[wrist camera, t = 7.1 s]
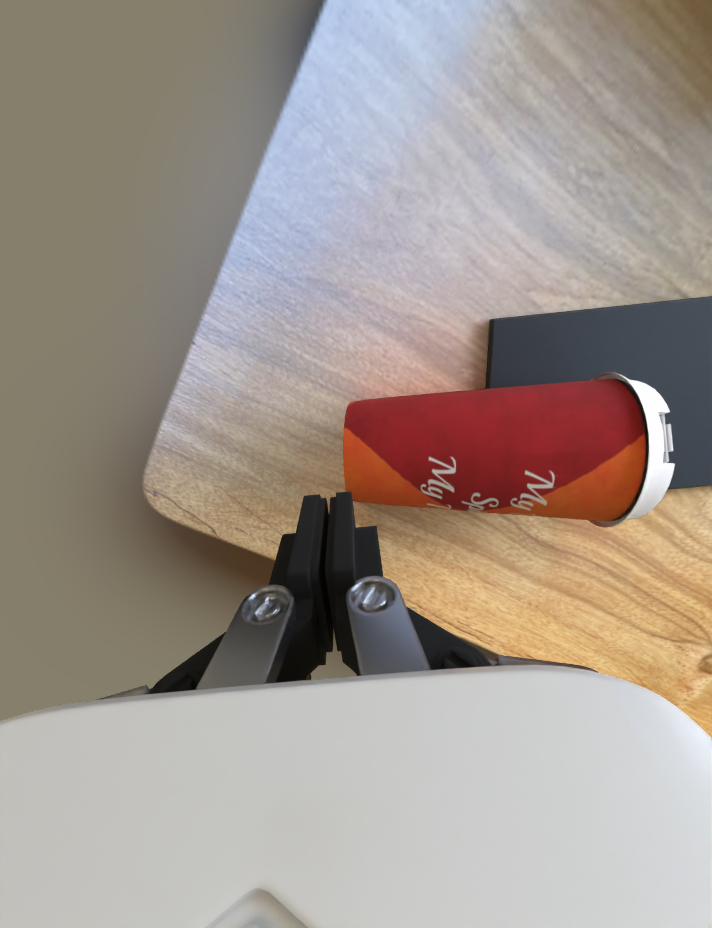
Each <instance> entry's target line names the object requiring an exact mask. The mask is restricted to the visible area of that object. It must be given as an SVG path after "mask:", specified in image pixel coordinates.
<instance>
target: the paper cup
mask: <svg viewBox="0 0 712 928" xmlns="http://www.w3.org/2000/svg"><path fill="white" fill-rule="evenodd" d="M669 412H670V411H669V409H668V406H667V404H666V403H665V401H664V400H663V398H662V397H661V395H660V394H659V393H658V392H657V391H656V390H655V389H653V388H652V387H650V386H649V385H647V384H645V383H642V382H639V381H634V380H629V379H628V378H626V377H624V376H622V375H620V374H617V373H608V372H607V373H603V374H599V375H598V376H596V377H594V378H593V379H592V380H588V381H576V382H564V383H552V384H540V385H528V386H516V387H504V388H492V389H480V390H468V391H456V392H445V393H433V394H422V395H411V396H400V397H389V398H379V399H369V400H361V401H354V402H350V403H349V405H348V407H347V410H346V415H345V423H344V435H343V465H344V478H345V485H346V491H347V492H352V499H353V501H356V502H364V503H374V504H385V505H397V506H409V507H421V508H434V509H447V510H461V511H474V512H487V513H501V514H515V515H528V516H542V517H555V518H569V519H582V520H589V521H590V522H591V523H593V524H595V525H597V526H600V527H613V526H616V525H619V524H620V523H623V522H624V521H626V520H628V519H635V518H638V517H641V516H644V515H645V514H647V513H648V512H650V511H651V510H653V509H654V508H655V507H656V506H657V505H658V504H659V502H660V501H661V500H662V498H663V497H664V495H665V493H666V491H667V489H668V487H669V485H670V482H671V479H672V476H673V472H674V467H675V464H674V463H667V462H669V456H668V452H672V451H673V443H672V433H671V424H667V425H665V414H666V413H669ZM663 414H664V415H663ZM659 415H661V416H659ZM664 452H665V453H664Z"/></svg>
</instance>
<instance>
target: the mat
mask: <svg viewBox="0 0 712 928" xmlns="http://www.w3.org/2000/svg"><path fill="white" fill-rule="evenodd" d="M607 372H608V373H617V374H620V375H622V376H624V377H626V378H628V379H629V380H634V381H639V382H642V383H645V384H647V385H649V386H650V387H652V388H653V389H655V390H656V391H657V392H658V393H659V394H660V395H661V397H662V398H663V400H664V401H665V403H666V404H667V406H668V409H669V411H670V412H669V413H666V414H665V425H667V424H671V433H672V443H673V451H672V452H668V456H669V462H667V463H674V464H675V467H674V472H673V476H672V479H671V482H670V485H669V487H668V489H677V488H688V487H698V486H708V485H712V296H710V297H701V298H691V299H682V300H672V301H662V302H653V303H643V304H633V305H624V306H614V307H605V308H595V309H585V310H576V311H566V312H556V313H547V314H537V315H527V316H518V317H508V318H499V319H491V320H490V329H489V345H488V362H487V379H486V389H492V388H504V387H516V386H528V385H540V384H552V383H564V382H576V381H588V380H592V379H593V378H594V377H596V376H598V375H599V374H603V373H607ZM663 415H664V414H663ZM659 416H661V415H659ZM664 453H665V452H664Z"/></svg>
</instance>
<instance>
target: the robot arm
mask: <svg viewBox="0 0 712 928" xmlns="http://www.w3.org/2000/svg"><path fill="white" fill-rule="evenodd" d="M333 629H334V633H335V639H336V644H337V650H338V651H341V653H342V660H343V662H344V663H345V664H346V665H347V666H348V667H349V668H351V669H352V670H353V671H354V672H355V673H356V674H357V676H353V677H352V676H351V677H340V678H328V679H316V680H311V674H310V673H311V672H312V671H313V670H314V669H315V668H316V667H317V666H318V665H325V664H326V652H332V650H333ZM0 928H712V738H711V737H710V736H709V735H708V734H707V733H706V732H705V731H704V730H703V729H702V728H701V727H699V726H698V725H697V724H696V723H695V722H694V721H693V720H692V719H691V718H690V717H688V716H687V715H686V714H685V713H684V712H682V711H681V710H680V709H679V708H677V707H676V706H675V705H673V704H672V703H670V702H669V701H668V700H666V699H665V698H663V697H661V696H659V695H658V694H656V693H654V692H652V691H650V690H648V689H646V688H643V687H641V686H639V685H636V684H634V683H631V682H628V681H626V680H623V679H620V678H617V677H613V676H609V675H605V674H601V673H599V672H597V671H595V670H593V669H591V668H588V667H584V666H580V665H573V664H566V663H558V662H550V661H542V660H534V659H526V658H519V657H511V656H503V655H498V660H497V659H489V658H486V657H485V656H484V655H483V654H482V653H481V652H479V651H478V650H477V649H476V648H474V647H472V646H471V645H469V644H467V643H466V642H464V641H462V640H461V639H459V638H457V637H456V636H454V635H452V634H451V633H449V632H448V631H446V630H444V629H443V628H441V627H439V626H438V625H436V624H434V623H433V622H431V621H429V620H428V619H426V618H424V617H423V616H421V615H419V614H418V613H416V612H414V611H413V610H411V609H410V608H408V607H406V605H405V603H404V600H403V598H402V595H401V592H400V590H399V588H398V587H397V585H396V584H395V583H394V582H392V581H391V580H390V579H387V578H385V577H383V571H382V564H381V556H380V549H379V541H378V534H377V527H376V526H369V527H358V528H356V526H355V517H354V508H353V499H352V492H340V493H336V497H331V498H330V510H329V512H328V506H327V500H326V498H321V497H320V494H319V495H308V496H304V498H303V502H302V507H301V511H300V516H299V521H298V525H297V530H296V533H292V534H284V535H283V536H282V538H281V542H280V546H279V549H278V553H277V557H276V560H275V564H274V568H273V571H272V575H271V579H270V582H269V585H267V586H264V587H261V588H259V589H257V590H255V591H253V592H252V593H250V594H249V595H248V596H247V597H246V598H245V599H244V601H243V602H242V603H241V605H240V607H239V608H238V611H237V612H236V614H235V616H234V618H233V620H232V622H231V624H230V626H229V627H228V629H227V631H226V632H225V633H224V634H222V635H221V636H219V637H218V638H217V639H215V640H214V641H213V642H211V643H210V644H208V645H207V646H205V647H204V648H203V649H201V650H200V651H199V652H197V653H196V654H195V655H193V656H192V657H190V658H189V659H188V660H186V661H185V662H183V663H182V664H181V665H179V666H178V667H176V668H175V669H174V670H172V671H171V672H169V673H168V674H167V675H165V676H164V677H163V678H162V679H161V680H160V681H158V682H157V683H156V684H155V686H154V687H153V688H152V689H149V688H148V687H147V685H145V686H141V687H138V688H134V689H131V690H128V691H124V692H121V693H118V694H115V695H111V696H108V697H104V698H101V699H97V700H92V701H85V702H79V703H72V704H65V705H59V706H54V707H50V708H45V709H41V710H36V711H32V712H29V713H25V714H22V715H19V716H15V717H12V718H9V719H6V720H3V721H0Z"/></svg>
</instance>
